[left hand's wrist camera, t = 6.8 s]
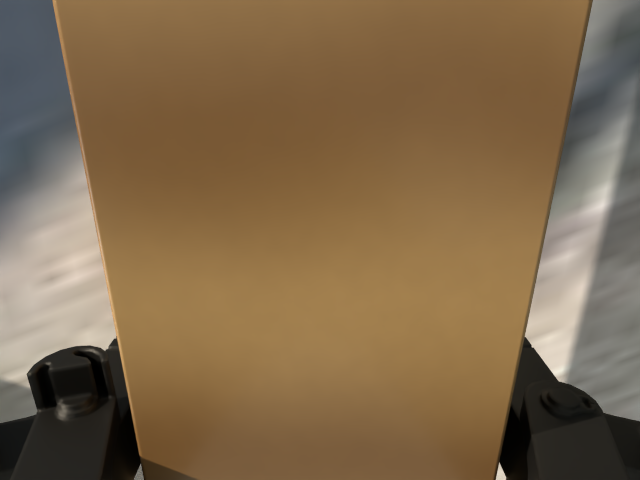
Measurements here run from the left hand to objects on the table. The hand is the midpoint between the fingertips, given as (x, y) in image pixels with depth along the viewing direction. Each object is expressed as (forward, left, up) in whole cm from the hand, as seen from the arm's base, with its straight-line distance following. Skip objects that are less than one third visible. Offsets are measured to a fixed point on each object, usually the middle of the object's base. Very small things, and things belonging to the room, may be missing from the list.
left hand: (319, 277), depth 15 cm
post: (+8, +26, -1) cm, 27 cm away
